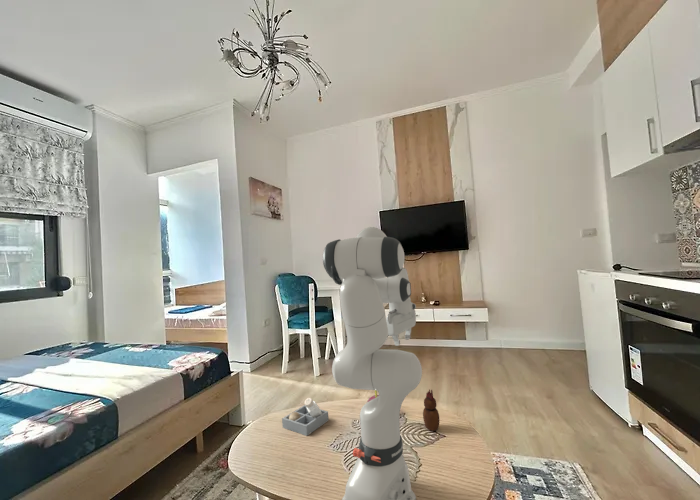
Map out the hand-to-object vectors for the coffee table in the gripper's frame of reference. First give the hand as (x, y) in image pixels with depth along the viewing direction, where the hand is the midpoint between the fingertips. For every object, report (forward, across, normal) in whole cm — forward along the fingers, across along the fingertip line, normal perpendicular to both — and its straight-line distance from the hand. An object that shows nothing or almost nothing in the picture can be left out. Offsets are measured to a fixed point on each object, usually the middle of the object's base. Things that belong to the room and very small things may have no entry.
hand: (402, 342), depth 128 cm
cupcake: (+31, 0, +14) cm, 34 cm away
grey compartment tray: (+31, -21, +36) cm, 52 cm away
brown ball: (+30, -24, +39) cm, 55 cm away
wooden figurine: (+31, -1, -10) cm, 33 cm away
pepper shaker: (+29, -17, +33) cm, 47 cm away
